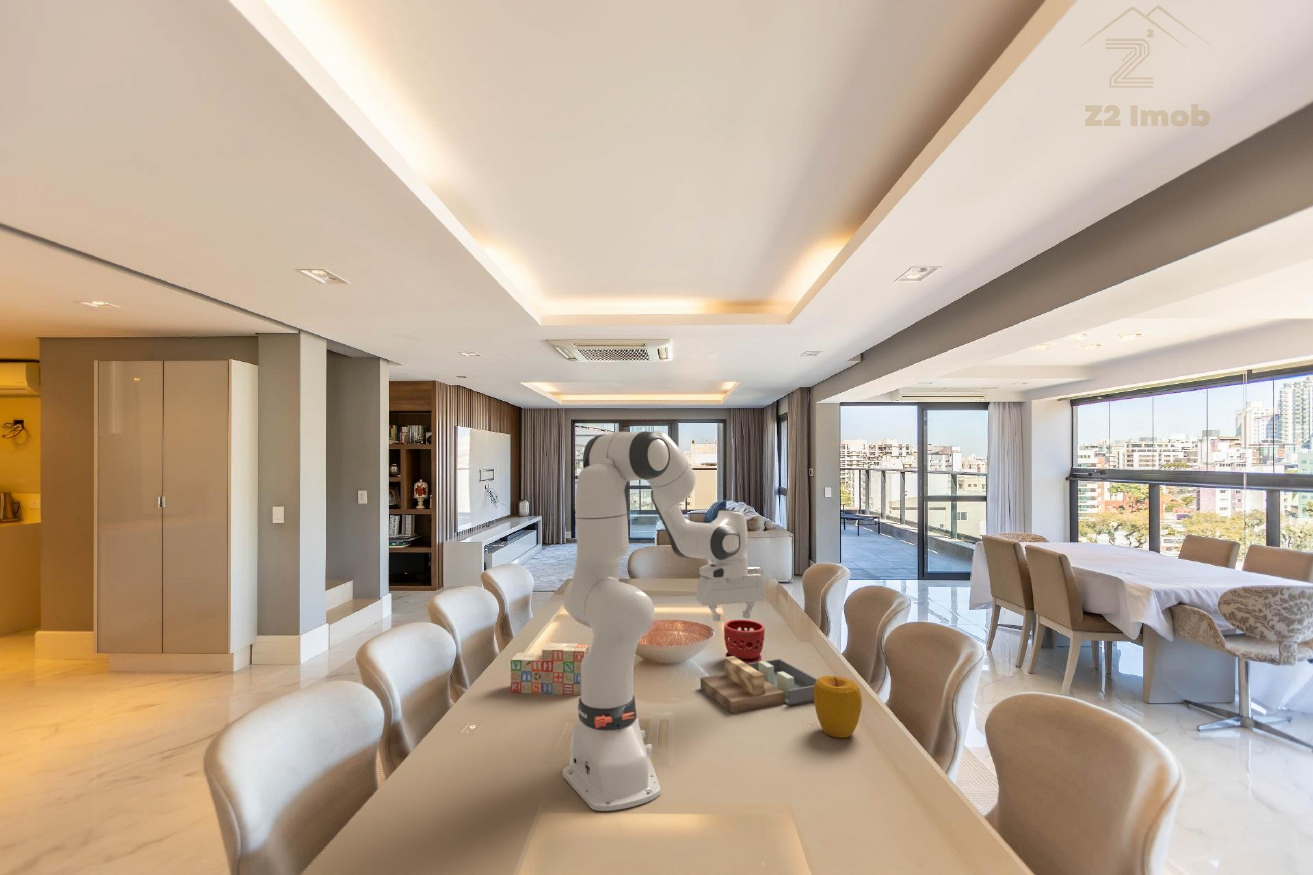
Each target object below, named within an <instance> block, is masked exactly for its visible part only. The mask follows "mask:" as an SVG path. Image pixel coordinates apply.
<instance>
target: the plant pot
mask: <svg viewBox="0 0 1313 875" xmlns="http://www.w3.org/2000/svg"><path fill="white" fill-rule="evenodd" d="M739 628H740V630H739ZM745 629H746V630H745ZM750 629H752V630H750ZM765 630H766V629H765V626H764V625H763V624H762V623H761V622H757V621H755V620H750V619H749V620H748V619H734V620H733V619H732V620H731V619H730V620H729V621H726V622H725V623H724V625H723V638H724V645H725V648H726V651H727V652H726V653H725V655H724V656H725V657H731V656H734V657H736V658H738V659H739V660H741V661H742V662H744V663H746V664H749V663H756V662H759V661H762V660H763V657H762V655H761V653H762V650H763V647H764V640H765V633H766V632H765Z"/></svg>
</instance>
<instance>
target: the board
mask: <svg viewBox="0 0 1313 875" xmlns="http://www.w3.org/2000/svg"><path fill="white" fill-rule="evenodd" d="M764 688H765V694H761V695H756V696H754V695H753V694H751V693H750V692H749V691H747V690H746V689H744V688H743V687H741V686H740V685H738V684H737V683H736V682H734V681H733V680H731V679H730V678H728V677H727V676H725V673H721V674H716V675H709V676H702V677H700V689H701V691H702V692H704V693H706V694H707V695H708V696H710V697H711V698H712V700H714V701H716V702H717V703H718V704H719V705H721V706H722V707H723V708H724V709H725V710H727V711H728V712H729V713H730V714H731V715H733V714H738V713H739V714H740V713H744V712H749V711H753V710H759V709H764V708H769V707H775V706H779V705H784V704H786V703H785V701H784V692H783V691H782V690H780V689H779V688H777V687H775V686H774V685H772V684H771V683H769V682H767V681H766V680H764Z"/></svg>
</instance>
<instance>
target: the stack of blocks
mask: <svg viewBox="0 0 1313 875" xmlns="http://www.w3.org/2000/svg"><path fill="white" fill-rule="evenodd" d="M589 649H590V645H589V644H588V643H587V644H583V643H572V642H571V643H558V642H557V643H555V642H554V643H553V642H547V643H546V645H545V646H544V648H542V650H541V653H538V652H535V653H534V652H517V653H515V655H514V656H513V657H512V658H511V659H510V692H511V693H523V694H543V695H544V694H545V695H546V694H548V695H549V694H550V695H569V696H570V695H572V696H573V695H574V696H581V662H582V660H583V658H584V657H585V655H586V654H588V653H589V652H590V650H589Z"/></svg>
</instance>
